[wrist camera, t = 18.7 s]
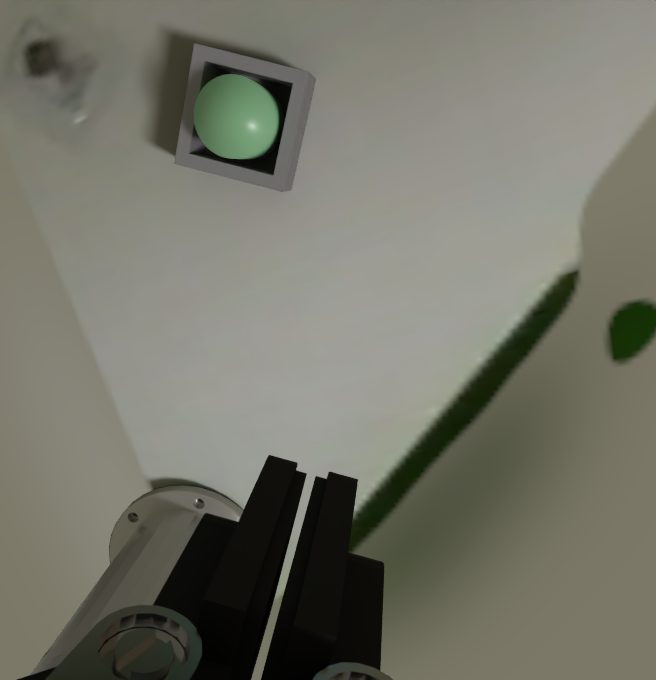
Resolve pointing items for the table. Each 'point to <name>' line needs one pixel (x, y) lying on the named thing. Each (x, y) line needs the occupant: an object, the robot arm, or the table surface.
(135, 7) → the table surface
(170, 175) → the table surface
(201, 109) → the button
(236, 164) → the button housing
